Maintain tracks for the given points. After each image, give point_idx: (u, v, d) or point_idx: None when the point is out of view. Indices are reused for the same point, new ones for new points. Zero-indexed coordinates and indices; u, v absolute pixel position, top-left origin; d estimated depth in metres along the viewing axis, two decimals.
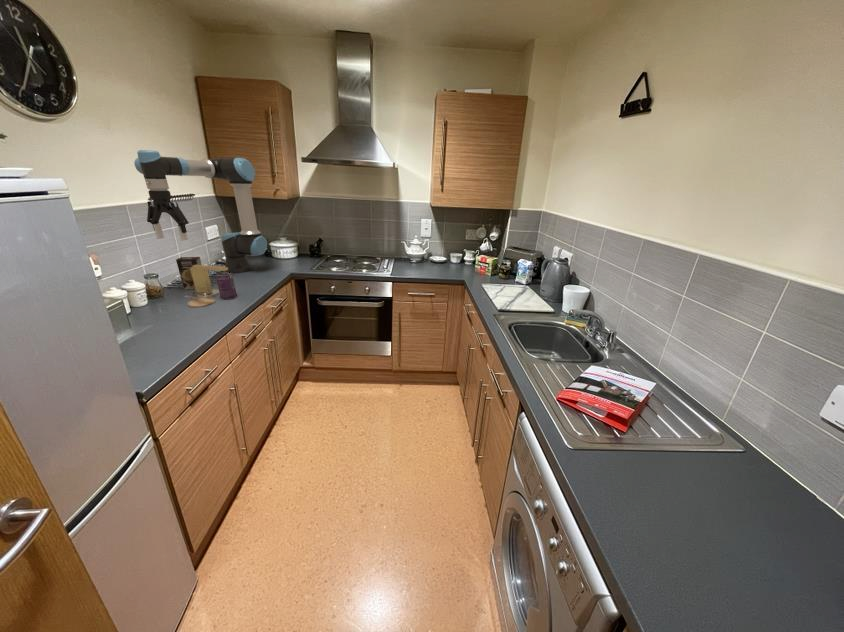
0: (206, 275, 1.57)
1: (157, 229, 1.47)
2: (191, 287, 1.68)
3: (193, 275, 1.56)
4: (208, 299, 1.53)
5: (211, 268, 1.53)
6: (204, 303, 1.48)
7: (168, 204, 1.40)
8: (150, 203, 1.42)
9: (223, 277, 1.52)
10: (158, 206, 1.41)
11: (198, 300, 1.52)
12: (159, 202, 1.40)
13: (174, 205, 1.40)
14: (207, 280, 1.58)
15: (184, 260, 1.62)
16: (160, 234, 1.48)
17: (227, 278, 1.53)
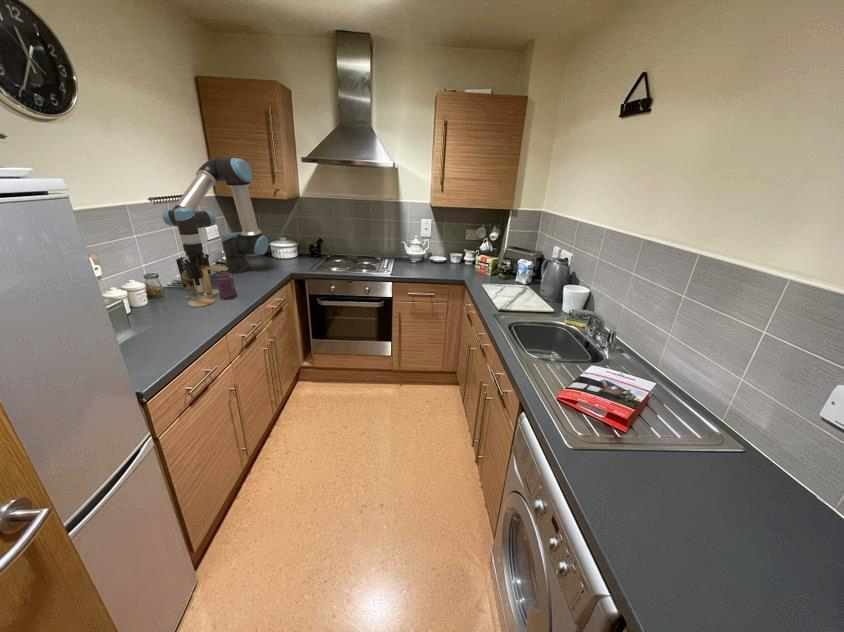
0: (206, 275, 1.57)
1: None
2: (191, 287, 1.68)
3: None
4: (208, 299, 1.53)
5: (211, 268, 1.53)
6: (204, 303, 1.48)
7: None
8: None
9: (223, 277, 1.52)
10: None
11: (198, 300, 1.52)
12: None
13: (184, 262, 1.49)
14: (207, 280, 1.58)
15: None
16: None
17: (227, 278, 1.53)
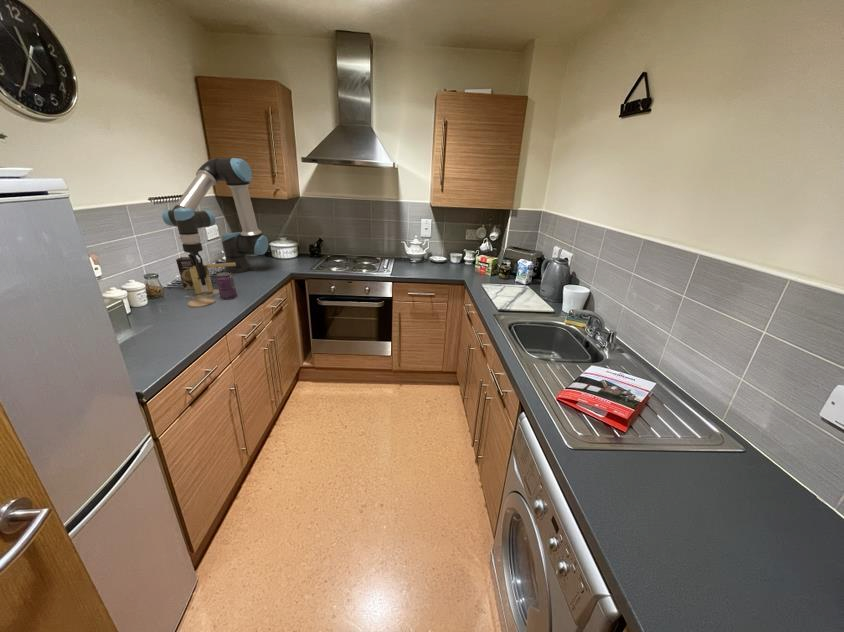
0: (208, 274, 1.59)
1: None
2: (191, 287, 1.68)
3: (193, 275, 1.55)
4: (208, 299, 1.53)
5: (218, 265, 1.58)
6: (204, 303, 1.48)
7: (195, 257, 1.51)
8: None
9: (223, 277, 1.52)
10: None
11: (198, 300, 1.52)
12: (191, 253, 1.52)
13: (198, 261, 1.50)
14: (209, 279, 1.60)
15: (184, 260, 1.62)
16: None
17: (227, 278, 1.53)
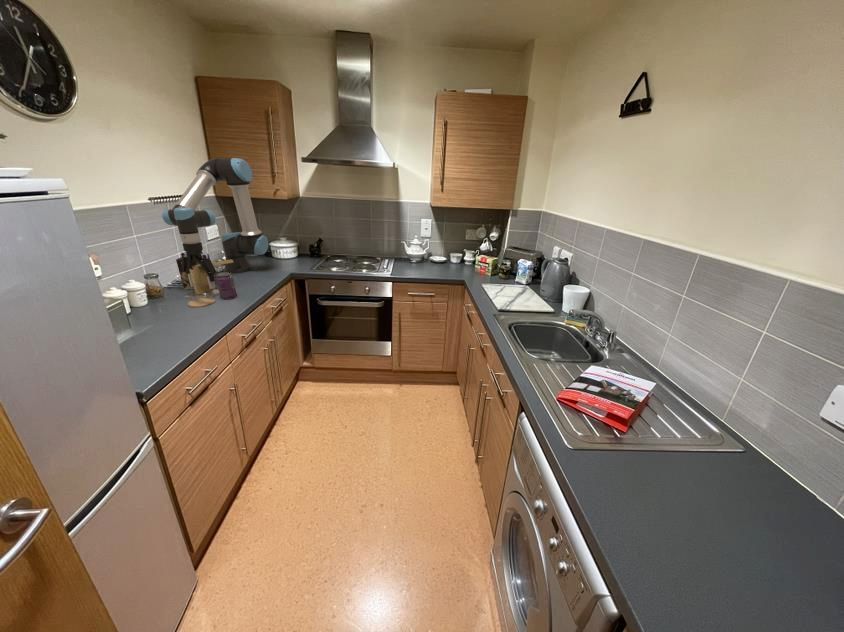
0: None
1: None
2: (191, 287, 1.68)
3: (195, 276, 1.55)
4: (208, 299, 1.53)
5: (218, 263, 1.62)
6: (204, 303, 1.48)
7: (200, 255, 1.52)
8: (183, 254, 1.54)
9: (223, 277, 1.52)
10: (191, 256, 1.52)
11: (198, 300, 1.52)
12: (192, 253, 1.52)
13: (206, 257, 1.52)
14: None
15: None
16: None
17: (227, 278, 1.53)
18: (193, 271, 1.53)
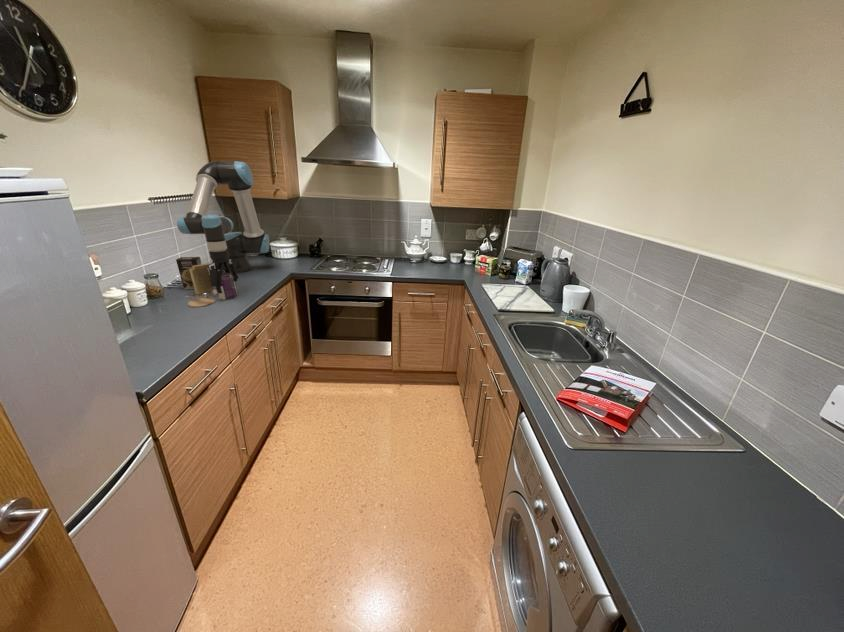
0: None
1: None
2: (191, 287, 1.68)
3: (195, 276, 1.55)
4: (208, 299, 1.53)
5: None
6: (204, 303, 1.48)
7: None
8: None
9: (223, 277, 1.52)
10: None
11: (198, 300, 1.52)
12: None
13: (209, 268, 1.46)
14: None
15: (184, 260, 1.62)
16: None
17: (227, 278, 1.53)
18: (193, 271, 1.53)
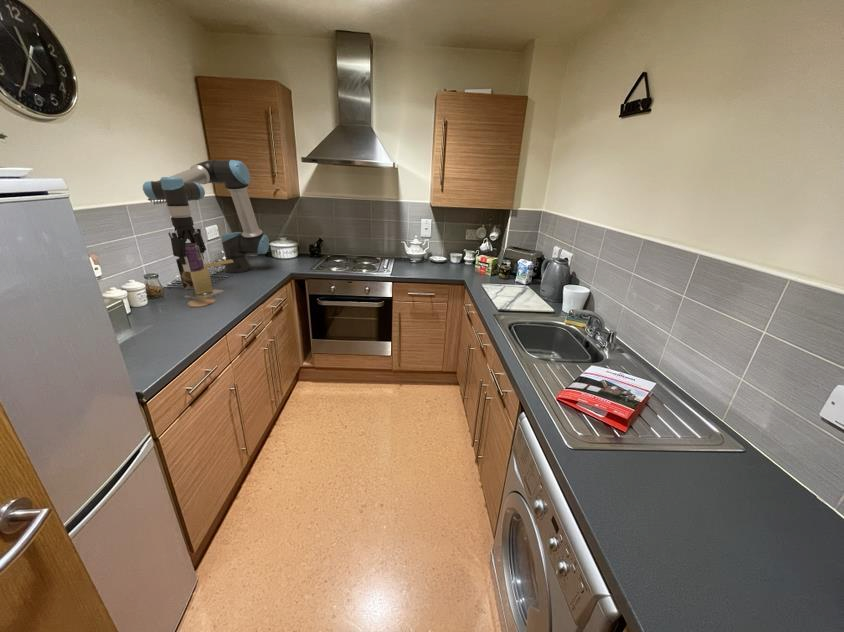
0: None
1: None
2: (191, 287, 1.68)
3: (195, 276, 1.55)
4: (208, 299, 1.53)
5: (218, 263, 1.62)
6: (204, 303, 1.48)
7: None
8: None
9: (187, 247, 1.38)
10: None
11: (198, 300, 1.52)
12: None
13: (170, 236, 1.33)
14: None
15: None
16: None
17: (192, 248, 1.39)
18: None
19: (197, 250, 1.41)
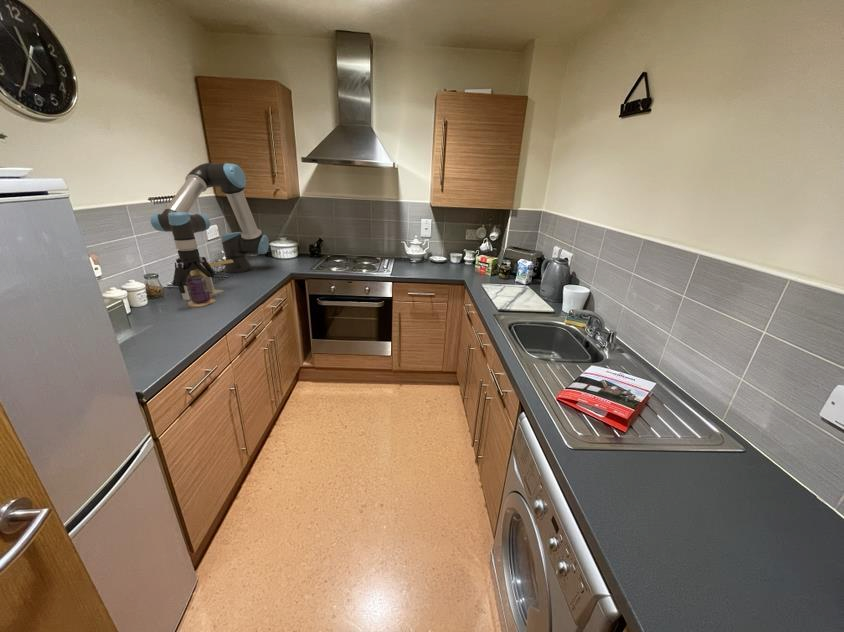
0: None
1: (207, 281, 1.53)
2: None
3: None
4: None
5: (218, 263, 1.62)
6: (204, 303, 1.48)
7: None
8: None
9: (194, 280, 1.44)
10: None
11: None
12: None
13: (176, 266, 1.37)
14: None
15: None
16: (210, 286, 1.54)
17: (199, 281, 1.45)
18: (193, 271, 1.53)
19: (203, 283, 1.47)
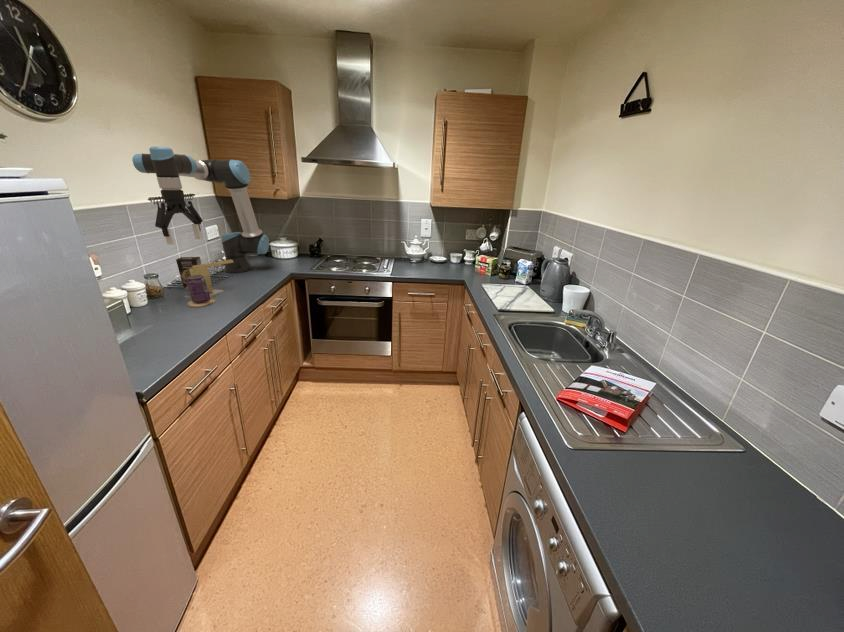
0: None
1: (194, 229, 1.44)
2: None
3: None
4: None
5: (218, 263, 1.62)
6: (204, 303, 1.48)
7: None
8: None
9: (194, 280, 1.44)
10: None
11: None
12: None
13: (158, 206, 1.27)
14: None
15: (184, 260, 1.62)
16: (197, 235, 1.45)
17: (199, 281, 1.45)
18: (193, 271, 1.53)
19: (203, 283, 1.47)
